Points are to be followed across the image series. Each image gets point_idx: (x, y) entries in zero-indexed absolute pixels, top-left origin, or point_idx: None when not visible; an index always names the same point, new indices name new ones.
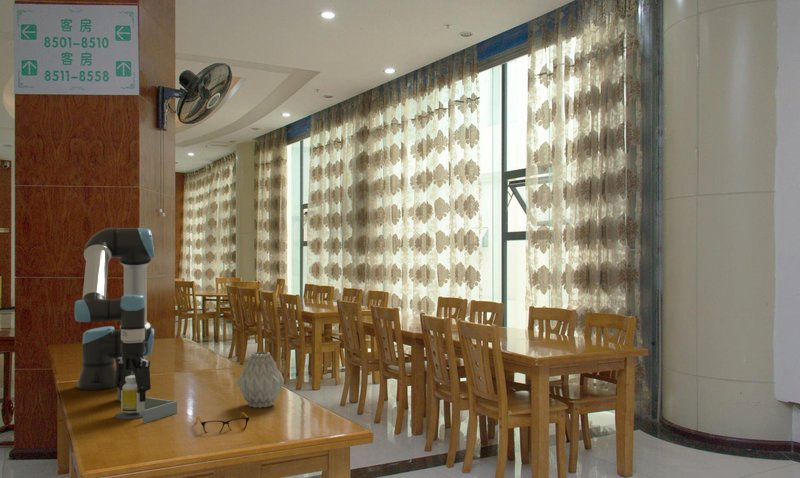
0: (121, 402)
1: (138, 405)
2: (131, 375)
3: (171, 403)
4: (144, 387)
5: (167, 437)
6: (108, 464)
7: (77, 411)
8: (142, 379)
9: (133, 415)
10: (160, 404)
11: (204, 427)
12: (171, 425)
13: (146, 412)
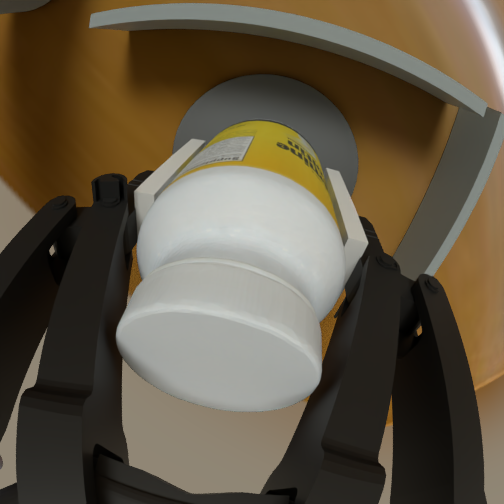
0: None
1: None
2: (133, 333)
3: (493, 159)
4: (407, 343)
5: (468, 347)
6: (392, 419)
7: (25, 187)
8: (400, 405)
9: None
10: (392, 70)
11: None
12: (479, 276)
13: None
